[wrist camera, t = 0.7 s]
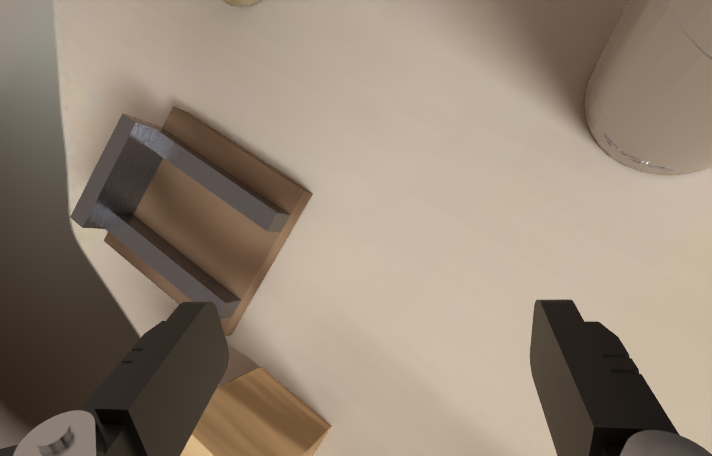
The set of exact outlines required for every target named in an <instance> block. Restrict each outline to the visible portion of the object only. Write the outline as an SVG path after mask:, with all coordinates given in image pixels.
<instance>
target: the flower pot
mask: <svg viewBox="0 0 712 456" xmlns="http://www.w3.org/2000/svg"><path fill="white" fill-rule="evenodd" d="M223 1H225V2H226V3H227V4H229V5H232V6H251V5H253V4H255V3H257V2H259V1H261V0H223Z"/></svg>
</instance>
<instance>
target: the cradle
mask: <svg viewBox="0 0 712 456" xmlns="http://www.w3.org/2000/svg"><path fill="white" fill-rule="evenodd" d="M311 196H312V193H310V192H308V191H307V190H305V189H304V188H302V187H301V186H299V185H298V184H296V183H295V182H293V181H292V180H290V179H288V178H287V177H285V176H284V175H282V174H281V173H279V172H278V171H276V170H275V169H273V168H272V167H270V166H268V165H267V164H265V163H264V162H262V161H261V160H259V159H258V158H256V157H255V156H253V155H252V154H250V153H248V152H247V151H245V150H244V149H242V148H241V147H239V146H238V145H236V144H235V143H233V142H232V141H230V140H228V139H227V138H225V137H224V136H222V135H221V134H219V133H218V132H216V131H215V130H213V129H212V128H210V127H209V126H207V125H205V124H204V123H202V122H201V121H199V120H198V119H196V118H195V117H193V116H192V115H190V114H189V113H187V112H185V111H183V110H181V109H178V108H176V107H174V106H173V108H172V110H171V112H170V114H169V116H168V118H167V120H166V122H165V124H164V126H163V127H159V126H156V125H153V124H151V123H148V122H145V121H142V120H140V119H137V118H134V117H131V116H129V115H126V114H122V116H121V118H120V120H119V122H118V124H117V126H116V128H115V130H114V132H113V134H112V136H111V138H110V140H109V142H108V144H107V145H106V147H105V149H104V151H103V153H102V155H101V157H100V159H99V161H98V163H97V165H96V167H95V169H94V171H93V173H92V175H91V177H90V179H89V181H88V183H87V185H86V187H85V189H84V191H83V193H82V195H81V197H80V199H79V201H78V203H77V205H76V207H75V209H74V211H73V213H72V215H71V218H72V219H73V220H74V221H75V222H76V223H78V224H79V225H80V226H81V227H82V228H99V229H106V230H107V231H108V233H107V235H106V237H105V239H104V241H105V242H106V243H107V244H108V245H109V246H111V247H112V248H113V249H114V250H115V251H117V252H118V253H119V254H120V255H121V256H123V257H124V258H125V259H126V260H127V261H128V262H130V263H131V264H132V265H133V266H134V267H136V268H137V269H138V270H139V271H140V272H142V273H143V274H144V275H145V276H146V277H147V278H149V279H150V280H151V281H152V282H153V283H155V284H156V285H157V286H158V287H159V288H160V289H162V290H163V291H164V292H165V293H166V294H168V295H169V296H170V297H171V298H172V299H174V300H175V301H176V302H177V303H178V304H179V305H180V304H181V303H182V302H213V303H214V304H215V305H216V307H217V310H218V314H219V317H220V321H221V325H222V328H223V332H224V335H225V336H229V335H231V334H232V332H233V331H234V329H235V327H236V325H237V324H238V322H239V320H240V318H241V317H242V315H243V313H244V312H245V310H246V308H247V306H248V305H249V303H250V301H251V300H252V298H253V296H254V294H255V293H256V291H257V289H258V287H259V286H260V284H261V282H262V281H263V279H264V277H265V275H266V274H267V272H268V270H269V268H270V267H271V265H272V263H273V262H274V260H275V258H276V256H277V255H278V253H279V251H280V250H281V248H282V246H283V244H284V243H285V241H286V239H287V237H288V236H289V234H290V232H291V231H292V229H293V227H294V225H295V224H296V222H297V220H298V219H299V217H300V215H301V213H302V212H303V210H304V208H305V206H306V205H307V203H308V201H309V200H310V198H311Z"/></svg>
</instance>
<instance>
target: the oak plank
mask: <svg viewBox="0 0 712 456" xmlns="http://www.w3.org/2000/svg"><path fill="white" fill-rule="evenodd" d="M330 428H331V425H330V424H328V423H327V422H326V421H325V420H324V419H322V418H321V417H320V416H319V415H318V414H316V413H315V412H314V411H313V410H312V409H310V408H309V407H308V406H307V405H306V404H305V403H303V402H302V401H301V400H300V399H299V398H297V397H296V396H295V395H294V394H293V393H291V392H290V391H289V390H288V389H287V388H285V387H284V386H283V385H282V384H281V383H279V382H278V381H277V380H276V379H275V378H273V377H272V376H271V375H270V374H269V373H267V372H266V371H265V370H264V369H263V368H262V367H259V368H257V369H255V370H253V371H251V372H249V373H247V374H245V375H243V376H240V377H238V378H236V379H234V380H232V381H230V382H228V383H226V384H224V385H222V386H219V387H217V388H216V390H215V392H214V394H213V396H212V397H211V399H210V401H209V403H208V405H207V407H206V409H205V410H204V412H203V414H202V416H201V418H200V420H199V422H198V423H197V425H196V427H195V429H194V431H193V433H192V435H191V436H190V438H189V440H188V442H187V444H186V446H185V448H184V449H183V451H182V453H181V455H180V456H313V455H314V453H315V451H316V450H317V448H318V447H319V445H320V444H321V442H322V440H323V439H324V437H325V436H326V434H327V432H328V431H329V429H330Z"/></svg>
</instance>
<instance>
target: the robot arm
mask: <svg viewBox="0 0 712 456" xmlns="http://www.w3.org/2000/svg"><path fill="white" fill-rule="evenodd" d="M584 105H585V117H586V120H587V123H588V126H589V129H590V132H591V134H592V135H593V137H594V138H595V140H596V141H597V143H598V145H599V146H600V147H601V148H602V149H603V150H604V151H605V152H606V153H607V154H608V155H609V156H610V157H612V158H614V159H615V160H617V161H618V162H620V163H622V164H623V165H625V166H627V167H630V168H633V169H635V170H638V171H641V172H646V173H651V174H657V175H680V174H686V173H691V172H696V171H700V170H703V169H705V168H708V167H710V166H712V0H629V2H628V4H627V6H626V8H625V10H624V12H623V14H622V16H621V18H620V20H619V22H618V24H617V26H616V28H615V30H614V32H613V33H612V35H611V37H610V39H609V41H608V43H607V45H606V47H605V48H604V50H603V52H602V54H601V56H600V58H599V60H598V62H597V64H596V66H595V68H594V70H593V72H592V75H591V77H590V80H589V82H588V85H587V88H586V94H585V101H584ZM228 356H229V353H228V346H227V342H226V339H225V335H224V332H223V328H222V325H221V321H220V317H219V314H218V310H217V307H216V305H215V304H214V303H213V302H182V303H181V304H180V305H179V306H178V307H177V308H176V309H175V311H174V312H173V313H172V314H171V316H170V317H169V318H168V319H167V320H166V321H162V322H161V323H159V324H158V325H156V326H155V327H153V328H152V329H151V330H149V331H148V332H146V333H145V334H144V335H143V336H142V337H141V338H140V340H139V341H138V342H137V343H136V344H135V345H134V347H133V348H132V351H131V352H128V354H127V355H126V356H125V357H124V358H123V359H122V361H121V364H118V365H117V367H116V368H115V369H114V370H113V371H112V372H111V374H110V375H109V376H108V377H107V378H106V379H105V381H104V382H103V383H102V384H101V385H100V387H99V388H98V389H97V390H96V391H95V392H94V393H93V395H92V396H91V397H90V398H89V399H88V400H87V402H86V403H85V404H84V405H83V407H81V409H80V410H76V411H69V412H65V413H62V414H59V415H56V416H54V417H52V418H50V419H48V420H46V421H45V422H43V423H42V424H40V425H38V426H37V427H36V428H34V429H33V430H32V431H31V432H29V434H27V435H26V436H25V437H24V439H23V440H22V441H21V442H20V443H19V445H16V446H11V447H7V448H3V449H0V456H180V455H181V453H182V451H183V449H184V448H185V446H186V444H187V442H188V440H189V438H190V436H191V435H192V433H193V431H194V429H195V427H196V425H197V423H198V422H199V420H200V418H201V416H202V414H203V412H204V410H205V409H206V407H207V405H208V403H209V401H210V399H211V397H212V396H213V394H214V392H215V390H216V388H217V386H218V384H219V383H220V381H221V379H222V377H223V375H224V373H225V371H226V368H227V365H228ZM530 364H531V371H532V376H533V380H534V383H535V386H536V389H537V393H538V396H539V399H540V402H541V405H542V408H543V411H544V415H545V418H546V421H547V424H548V427H549V430H550V433H551V436H552V440H553V443H554V446H555V449H556V452H557V455H558V456H712V454H711V453H709V452H708V451H707V450H705V449H704V448H703V447H701V446H700V445H698V444H696V443H695V442H693V441H691V440H689V439H687V438H685V437H682V436H680V435H679V434H678V432H677V431H676V429H675V427H674V426H673V424H672V423H671V421H670V419H669V418H668V416H667V415H666V413H665V411H664V410H663V408H662V407H661V405H660V403H659V402H658V400H657V399H656V397H655V395H654V394H653V392H652V391H651V389H650V387H649V386H648V384H647V383H646V381H645V379H644V378H643V376H642V375H641V374H639V370H638V368H637V367H636V365H635V363H634V362H633V360H632V359H630V358H629V354H628V352H627V350H626V349H625V347H624V346H623V344H622V342H621V341H620V339H619V338H618V337H617V336H616V335H615V334H614V333H612V332H611V331H610V330H608V329H607V328H606V327H605V326H603V325H602V324H601V323H600V322H584V320H583V319H582V317H581V315H580V313H579V311H578V309H577V308H576V306H575V304H574V302H573V301H572V300H536V302H535V306H534V314H533V325H532V336H531V347H530Z"/></svg>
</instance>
